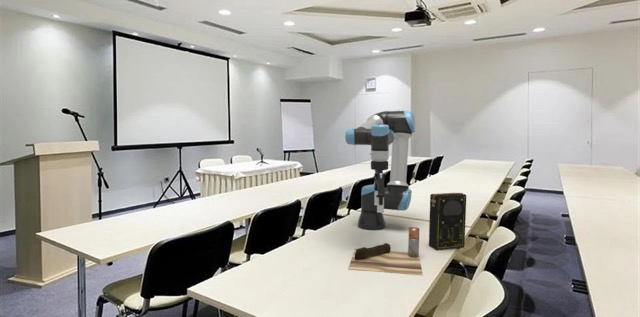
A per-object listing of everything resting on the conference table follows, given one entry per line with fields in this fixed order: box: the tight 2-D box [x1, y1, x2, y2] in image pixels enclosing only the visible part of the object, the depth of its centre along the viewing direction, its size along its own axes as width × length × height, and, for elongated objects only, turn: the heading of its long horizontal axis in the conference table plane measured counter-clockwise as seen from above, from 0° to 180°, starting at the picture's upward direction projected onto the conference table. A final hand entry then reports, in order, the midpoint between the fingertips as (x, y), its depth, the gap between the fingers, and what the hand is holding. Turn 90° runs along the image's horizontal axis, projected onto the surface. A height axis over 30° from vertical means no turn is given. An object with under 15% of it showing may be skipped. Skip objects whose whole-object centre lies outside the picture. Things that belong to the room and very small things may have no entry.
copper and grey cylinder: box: [407, 226, 420, 258], centre depth 156 cm, size 4×4×12 cm
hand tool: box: [355, 242, 392, 260], centre depth 157 cm, size 19×4×5 cm, turn 122°
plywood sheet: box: [347, 248, 424, 276], centre depth 151 cm, size 24×28×1 cm
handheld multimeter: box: [428, 192, 467, 251], centre depth 168 cm, size 16×9×25 cm, turn 105°
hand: (378, 208), depth 161 cm, fingers open, 13 cm apart
